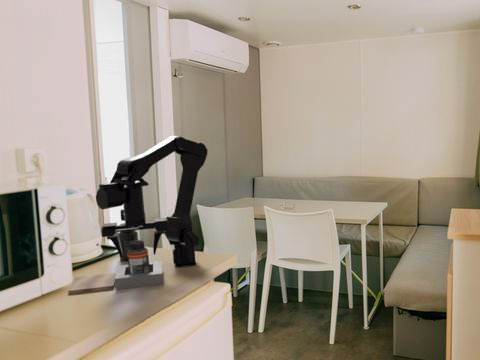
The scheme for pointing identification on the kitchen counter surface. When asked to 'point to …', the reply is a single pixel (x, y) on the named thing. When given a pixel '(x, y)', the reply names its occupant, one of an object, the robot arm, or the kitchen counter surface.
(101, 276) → the walnut board
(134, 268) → the supplement bottle
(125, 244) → the supplement bottle
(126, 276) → the block
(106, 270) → the kitchen counter surface
